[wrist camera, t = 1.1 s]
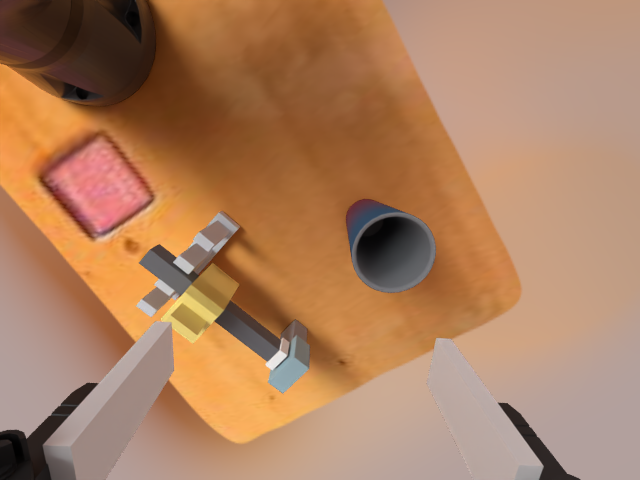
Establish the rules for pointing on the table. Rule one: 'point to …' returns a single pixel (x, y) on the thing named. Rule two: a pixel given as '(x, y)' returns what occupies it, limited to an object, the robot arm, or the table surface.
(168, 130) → the table surface
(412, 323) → the table surface
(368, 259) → the cup
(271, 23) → the table surface
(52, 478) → the robot arm
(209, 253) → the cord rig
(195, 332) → the sleeve
